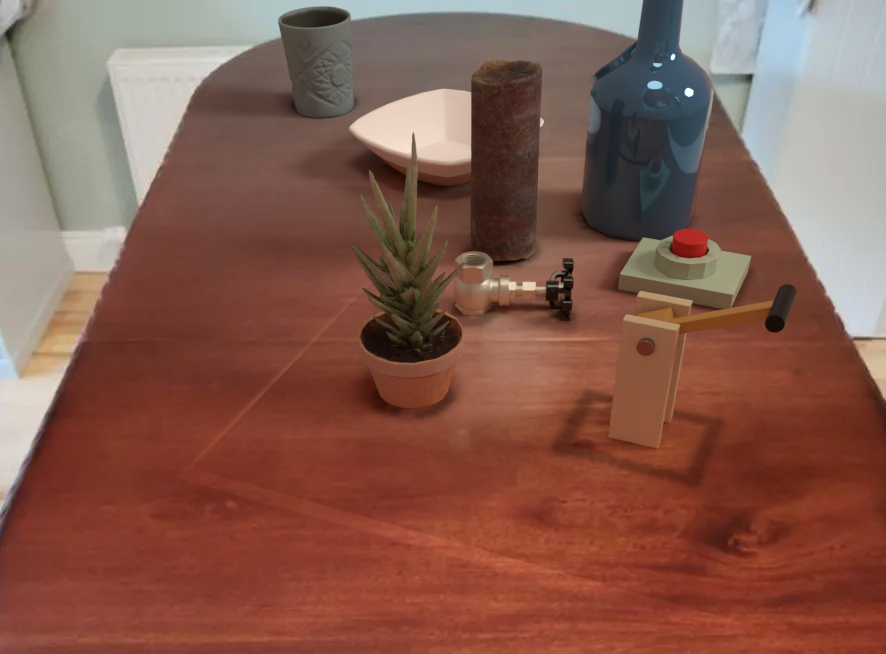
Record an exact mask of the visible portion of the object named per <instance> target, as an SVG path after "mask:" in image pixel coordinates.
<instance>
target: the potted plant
mask: <svg viewBox="0 0 886 654" xmlns="http://www.w3.org/2000/svg"><path fill="white" fill-rule="evenodd" d="M417 174H418V171H417V153H416V142H415V135H414V132H413V134H412V155H411V170H410V167H409V166H408V168H407V174H406V175H405V183H404V193H403V202H402V203H401V201H400V202H399V209H398V223H397V219H396V215H395V211H394V208H393V206H392V204H391V202H388V204H387V201H386V199H385V197H384V195H383V193H382V190H381V189H380V187H379V184H378V183H377V180H376V179H375V175H374V173H373V172H372V171H371V170H370V169H368V176H369V183H370V187H371V191H372V194H373V197H374V201H375V205H376V208H377V211H378V215H379V217H380V219H381V222H382V225H383V226H382V225H381V224H380V221H379V220H378V219H377V217H376V216H375V214H374V212H373V210H372V209H371V207H370V205H369V204H368V202H367V201H366V198H365V195H364V194H360V201H361V205H362V209H363V212H364V214H365V218H366V220H367V223H368V224H369V227H370V230H371V232H372V235H373V236H374V239H375V240H376V242H377V246H378V247H379V249H380V251H381V254H382V255H378V260H379V263H378V262H377V261H376V260H375V259H373V258H372V257H370V256H369V255H368V254H367V253H365V251H363V250H362V249H361V248H360V247H359V246H358V245H356V244H355V243H354V242H352V244H351V245H352V248H351V250H352V251H353V253H354V254H353V255H354V256H355V259H356V260H357V262H358V264H359V265H360V267H361V269H362V271H364V273H365V275H366V276H367V278H368V279H369V280H370V282H371V283H372V285H373V286H374V288H375V289H376V290H377V291H378V293H379V295H380V296H377V295H376V294H375V293H373V292H371V291H369V290H368V289H367V288H365V287H362V288H361V289H362V291H363V292H364V293H365V294H366V296H368V300H369V301H370V302H371V303H372V304H373V305H374V306H375V307H376V308H377V309H379V310H381V311H379V312H377V313H376V314H373V315H372V316H370V317H367V319H366V320H364V322H363V323H362V324H361V326H360V327H359V329H358V332H357V335H356V340H357V348H358V353H359V355H360V358H361V360H362V361H363V363H364V364H365V365H366V366H367V367H368V370H369V371H370V375H371V376H372V379H373V382H374V385H375V387H376V390H377V392H378V395H379V397H380V398H381V399H382V400H383V401H384V402H385V403H387V404H389V405H392V406H394V407H397V408H402V409H421V408H422V409H423V408H427V407H430V406H434V405H435V404H437V403H438V402H440V401H441V400H443V399H444V398H445V397H446V395H447V394H448V392H449V389H450V384H451V380H452V377H453V375H454V372H455V370H456V369H455V368H456V367H457V366H456V365H457V363H458V361H459V360H460V359H461V358H462V356H463V355H464V350H465V330H464V327H463V325H462V323H461V322H460V320H459V319H458V318H457V317H456V316H454V315H453V314H451V313H449V312H448V311H447V310H446V309H443V310H442V309H439V308H440V306H441V302H440V300H441V298H442V296H443V295H444V293H445V290H446V288H447V286H448V285H449V284H451V282H452V281H453V279H454V278H456V277H457V276H456V275H457V273H458V272H459V271H460V270H461V269H462V267H463V266H464V264H465V262H466V261H465V262H463V263H462V264H461V265H460V266H459V267H458V268H457V269H456V270H455V269H454V270H453V271H452V272H451V273H450V274H449V275H448V276H447V277H446V274H447V273H446V271H444V272H442V273H441V274H439V276H437V278H435V279H434V280H433V279H432V278H433V276H434V274H435V273H436V271H437V270H438V268H439V265H440V263H441V260H442V258H443V257H444V254H445V252H446V250H447V245H448V240H449V239H445V241H444V242H443V244H442V245H441V246H440V247H439V249H438V251H437V252H436V253H435V255H434V256H433V257H432V258H431V259H430V260H429V261H428V258H429V254H430V250H431V246H432V242H433V236H434V233H435V229H436V225H437V224H436V223H437V220H438V206H437V205H436V206H435V207H434V208H433V210H432V213H431V214H430V216H429V219H428V221H427V223H426V225H425V227H424V228H423V230H422V232H421V234H419V236H418V238H417V239H416V236H417V235H416V234H417V206H418V205H417V204H418V203H417V202H418V193H417V192H418V189H417V188H418V180H417ZM383 227H384V228H383ZM427 261H428V262H427Z"/></svg>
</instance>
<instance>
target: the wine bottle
mask: <svg viewBox="0 0 886 654" xmlns="http://www.w3.org/2000/svg"><path fill="white" fill-rule="evenodd" d="M684 2H685V0H642V5H641V11H640V18H639V24H638V25H639V26H638V32H637V33H638V34H637V39H636V40H635V41H634V42H633V43H632V44H630V45H629V46H627V48H626V49H624V50H623V51H621V52H620V53H619V54H618V55H617V56H616V57H615V58H613V59H612V60H610V61H609V62H607V63H606V64H604V65H602V66H601V67H600V68H599V69H597V70H596V71H595V73H593V74H592V76H591V77H590V82H591V83H592V87H591V89H590V96H589V104H588V105H589V107H588V118H587V130H586V141H585V142H586V143H585V151H584V152H585V155H584V164H583V178H582V189H581V201H580V202H581V203H580V210H581V212H582V215H583V218H584V219H585V221H586V222H587V225H588V226H589V228H591V229H592V230H595V231H596V232H599V233H600V234H603V235H605V236H607V237H608V238H614V239H619V240H620V239H621V240H626V241H633V242H640V241H641V240H642V238H643V237H644V238H650V239H656V240H663V239H665V238H668V237H670V236H673V235H674V233H675V232H676V231H678V230H682V229H687V227H688V225H689V223H690V221H691V220H692V217H693V215H694V214H695V210H696V206H697V205H696V204H697V199H698V192H699V188H700V187H699V185H700V181H701V174H702V168H703V161H704V157H705V156H704V155H705V149H706V144H707V138H708V133H709V127H710V126H709V125H710V120H711V116H712V115H711V114H712V108H713V102H714V94H715V92H714V86H713V83H712V79H711V78H710V76H709V74H708V73H707V71H705V70H704V68H702V66H701V65H700V64H699V63H698V62H697V61H695V60H694V59H693V58H692V57H691V56H689V55H688V54H687V55H686V54H685V53H684V52H683V51H682V48H681V47H680V39H681V32H682V31H681V30H682V22H683V11H684V4H685V3H684Z"/></svg>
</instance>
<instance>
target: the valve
mask: <svg viewBox="0 0 886 654" xmlns="http://www.w3.org/2000/svg"><path fill="white" fill-rule="evenodd" d="M465 261H466V262H465ZM463 262H465V264H464V266H463V267H462V269H461V270H460V271H459V272H458V273H457V275H456V276H455V279H454V281H453V285H452V295H453V298H454V301H455V304H454V307H455V308H456V309H457V310H458V311H459V312H460V313H461V314H462V316H483V315H484V314H485V313H487V312H488V311H489V310H491V308H493V304H492V303H498V305H499V306H510V300H516V299H517V298H518V297H521V299H522V300H536V297H544V298H545V299H544V300H545V302H548V306H549V307H550V309H551V310H561V312H562V314H563V315H564V316H562V315H561V316H560V321H561V322H571V317H572V314H571V312H572V311H573V299H572V291H573V289H574V282H575V279H574V276H573V272H574V265H575V261H574V259H573V258H572V257H563V258H562V263H561V266H562V267H563V269H564V270H562V269H561V270H556V271H554V272H552V274H551V275H550V277H549V280H545V285H537V282H536V281H522V284H518V283H517V281H511V275H510V274H499V277H497V278H496V277H492V276H494V275H493V271H494V270H493V269H494V261H493V260H492V259H491V258H490V257H489V256H488V255H487V254H485V253H482V252H475V251H467V252H463V253H461V254H459V255H458V256H456V258H455V259H454V271H455V270H456V269H457V268H458V267H459V266H460V265H461V264H462V263H463ZM558 278H560V280H557V279H558ZM555 302H561V304H556V303H555Z"/></svg>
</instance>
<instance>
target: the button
mask: <svg viewBox="0 0 886 654" xmlns="http://www.w3.org/2000/svg"><path fill="white" fill-rule="evenodd" d="M672 236H673V241H672V247H671V253H673V254H674V255H676V256H678V257H683V258H700V257H703V256H705V254H706V249H707V243H708V239H709V235H708V234H707V233H706V232H705V231H703V230H700V229H696V228H685V229H682V230H678V231H676V232H675V233H674V235H672Z"/></svg>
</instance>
